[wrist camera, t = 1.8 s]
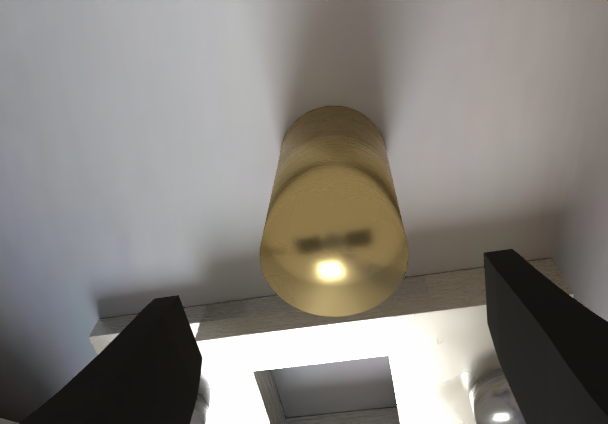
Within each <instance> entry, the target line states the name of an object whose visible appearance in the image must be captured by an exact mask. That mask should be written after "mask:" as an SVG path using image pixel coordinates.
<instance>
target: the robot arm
mask: <svg viewBox="0 0 608 424" xmlns="http://www.w3.org/2000/svg"><path fill="white" fill-rule="evenodd" d="M484 269H485V288H486V308H487V324H488V327H489V331H490V334H491V337H492V341H493V344H494V348H495V351H496V354H497V357H498V360H499V363H500V366H501V368H502V370H503V373H504V375H505V377H506V379H507V382H508V384H509V386H510V389H511V391H512V393H513V395H514V398H515V400H516V402H517V404H518V407H519V409H520V411H521V413H522V416H523V418H524V420H525V422H526V424H608V322H607V321H605V320H604V319H602V318H601V317H599V316H598V315H596V314H595V313H593V312H592V311H591V310H589V309H588V308H586V307H585V306H583V305H582V304H581V303H579V302H578V301H577V300H575V299H574V298H573V297H571V296H570V295H569V294H567V293H566V292H565V291H563V290H562V289H561V288H559V287H558V286H557V285H556V284H554V283H553V282H552V281H551V280H549V279H548V278H547V277H546V276H544V275H543V274H542V273H541V272H539V271H538V270H537V269H536V268H535V267H533V266H532V265H531V264H530V263H529V262H527V261H526V260H525V259H524V258H523V257H521V256H520V255H519V254H518V253H517V252H515V251H514V250H513V249H508V250H501V251H494V252H487V253H484ZM202 360H203V357H202V355H201V352H200V350H199V347H198V344H197V342H196V339H195V337H194V334H193V332H192V329H191V326H190V324H189V321H188V319H187V316H186V314H185V311H184V308H183V306H182V303H181V301H180V298H179V296H171V297H164V298H156V299H154V300H153V301H152V302H151V303H149V304H148V305H147V306H146V307H145V308H144V309H143V310H142V311H141V312H140V313H139V314H138V315H137V316H136V317H135V318H134V319H133V320H132V321H131V322H130V323H129V324H128V325H127V326H126V327H125V328H124V329H123V330H122V331H121V332H120V333H119V334H118V335H117V336H116V337H115V338H114V339H113V340H112V341H111V342H110V343H109V344H108V346H107V347H106V348H105V349H104V350H103V351H102V352H101V353H100V354H99V355H98V356H97V357H96V358H94V359H93V360H92V361H91V362H90V363H89V364H88V365H87V366H86V367H85V368H84V369H83V370H82V371H81V372H79V373H78V374H77V375H76V376H75V377H74V378H73V379H72V380H71V381H70V382H69V383H68V384H67V385H65V386H64V387H63V388H62V389H61V390H60V391H59V392H58V393H56V394H55V395H54V396H53V397H52V398H51V399H49V400H48V401H47V402H46V403H45V404H43V405H42V406H41V407H40V408H38V409H37V410H36V411H35V412H33V413H32V414H31V415H30V416H28V417H27V418H26V419H24V420H23V421H22V422H21V423H19V424H190V422H191V418H192V415H193V411H194V408H195V404H196V400H197V396H198V389H199V383H200V376H201V368H202Z"/></svg>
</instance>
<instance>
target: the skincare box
mask: <svg viewBox="0 0 608 424" xmlns="http://www.w3.org/2000/svg"><path fill="white" fill-rule="evenodd" d="M0 424H19V423H17V422H14V421H10V420H6V419H3V418H0Z"/></svg>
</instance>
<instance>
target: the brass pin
mask: <svg viewBox="0 0 608 424" xmlns="http://www.w3.org/2000/svg"><path fill="white" fill-rule="evenodd" d="M260 263H261V267H262V271H263V274H264V276H265V278H266V280H267V282H268V284H269V285H270V286H271V288H272V289H273V290H274V292H275V293H276V294H277V295H278V296H279V297H281V298H282V299H283V300H284V301H285V302H287V303H289V304H290V305H292V306H293V307H295V308H297V309H300V310H302V311H305V312H307V313H311V314H315V315H320V316H327V317H340V316H349V315H354V314H358V313H361V312H364V311H367V310H369V309H371V308H373V307H375V306H377V305H379V304H380V303H382V302H383V301H384V300H386V299H387V298H388V297H389V296H390V295H391V294H392V293H393V292H394V291H395V290H396V289H397V287H398V286H399V284H400V283H401V281H402V279H403V277H404V275H405V272H406V269H407V265H408V246H407V241H406V237H405V232H404V228H403V223H402V219H401V215H400V210H399V206H398V201H397V197H396V193H395V188H394V184H393V179H392V175H391V171H390V166H389V162H388V157H387V153H386V149H385V144H384V140H383V138H382V135H381V133H380V131H379V130H378V128H377V127H376V126H375V124H374V123H373V122H372V121H371V120H370V119H369V118H367V117H366V116H365V115H363V114H362V113H360V112H358V111H356V110H353V109H350V108H347V107H341V106H326V107H321V108H317V109H314V110H312V111H309V112H307V113H306V114H304V115H302V116H301V117H300V118H298V119H297V120H296V121H295V122H294V123H293V124H292V126H291V127H290V128H289V130H288V131H287V133H286V135H285V137H284V140H283V143H282V147H281V152H280V157H279V161H278V166H277V171H276V175H275V180H274V185H273V190H272V194H271V199H270V204H269V208H268V213H267V218H266V222H265V227H264V232H263V236H262V241H261V247H260Z"/></svg>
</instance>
